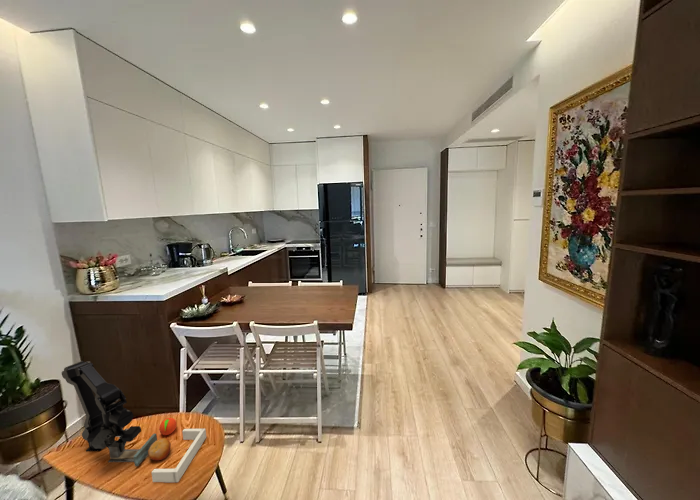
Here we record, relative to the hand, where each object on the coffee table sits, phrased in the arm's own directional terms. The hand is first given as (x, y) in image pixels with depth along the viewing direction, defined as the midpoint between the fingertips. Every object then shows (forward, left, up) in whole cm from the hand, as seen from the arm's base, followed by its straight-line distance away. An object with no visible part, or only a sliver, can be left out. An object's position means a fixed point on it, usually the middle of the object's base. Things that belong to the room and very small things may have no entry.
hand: (117, 451), depth 123 cm
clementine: (+14, +12, -3) cm, 19 cm away
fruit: (+18, 0, -3) cm, 19 cm away
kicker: (+6, 0, -2) cm, 6 cm away
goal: (+28, -1, -2) cm, 28 cm away
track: (+5, 0, -2) cm, 5 cm away
